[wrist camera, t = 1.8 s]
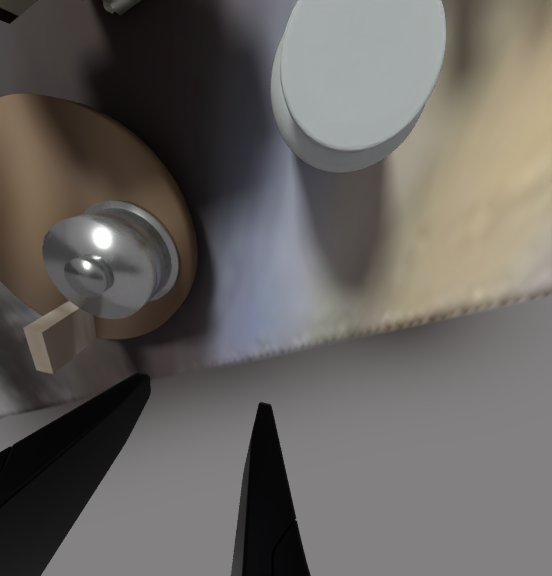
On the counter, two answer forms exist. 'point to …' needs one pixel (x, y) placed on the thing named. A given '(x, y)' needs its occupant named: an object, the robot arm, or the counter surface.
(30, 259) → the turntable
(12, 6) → the pneumatic valve
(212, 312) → the counter surface
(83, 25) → the counter surface
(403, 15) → the supplement bottle
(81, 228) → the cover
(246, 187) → the counter surface
